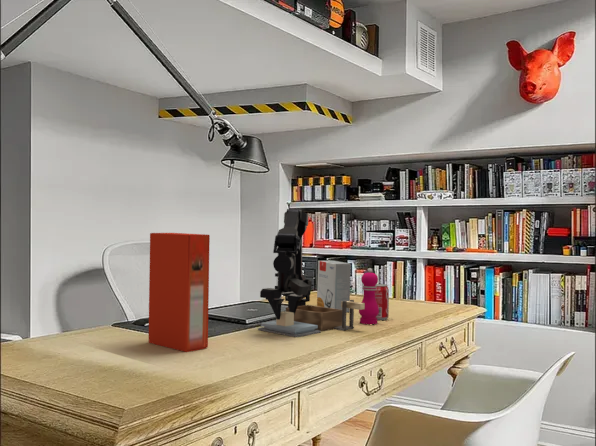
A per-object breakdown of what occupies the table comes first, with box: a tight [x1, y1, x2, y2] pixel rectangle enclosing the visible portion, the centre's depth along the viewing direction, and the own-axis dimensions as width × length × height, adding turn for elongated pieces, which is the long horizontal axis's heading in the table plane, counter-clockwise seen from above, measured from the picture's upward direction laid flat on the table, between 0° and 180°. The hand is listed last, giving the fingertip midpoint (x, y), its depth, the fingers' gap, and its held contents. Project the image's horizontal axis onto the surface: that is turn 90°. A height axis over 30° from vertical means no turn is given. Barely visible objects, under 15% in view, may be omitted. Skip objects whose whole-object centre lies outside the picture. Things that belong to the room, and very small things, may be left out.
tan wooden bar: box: [341, 301, 365, 311], centre depth 209 cm, size 8×2×2 cm, turn 49°
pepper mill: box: [358, 267, 379, 325], centre depth 224 cm, size 7×7×20 cm
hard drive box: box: [316, 260, 352, 313], centre depth 255 cm, size 16×8×20 cm, turn 25°
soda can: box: [375, 283, 390, 321], centre depth 234 cm, size 7×7×13 cm
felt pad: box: [257, 326, 322, 338], centre depth 204 cm, size 17×12×1 cm
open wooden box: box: [285, 299, 355, 332], centre depth 214 cm, size 20×13×10 cm, turn 49°
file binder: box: [148, 232, 210, 353], centre depth 177 cm, size 8×17×32 cm, turn 48°
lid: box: [260, 310, 318, 334], centre depth 204 cm, size 15×11×6 cm
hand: (285, 318), depth 202 cm, fingers open, 6 cm apart
